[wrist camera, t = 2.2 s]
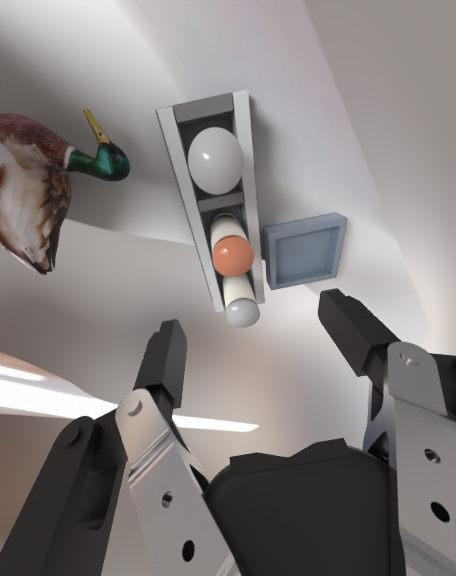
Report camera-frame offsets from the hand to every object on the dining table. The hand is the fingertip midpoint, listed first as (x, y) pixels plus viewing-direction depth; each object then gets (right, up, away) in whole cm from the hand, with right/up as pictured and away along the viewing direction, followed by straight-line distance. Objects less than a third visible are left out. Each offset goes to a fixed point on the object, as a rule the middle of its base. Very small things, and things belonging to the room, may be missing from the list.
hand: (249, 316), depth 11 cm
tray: (+9, +7, +17) cm, 21 cm away
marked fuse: (-2, +9, +13) cm, 16 cm away
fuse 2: (0, +4, +17) cm, 17 cm away
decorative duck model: (-19, +12, +11) cm, 25 cm away
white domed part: (-3, +15, +9) cm, 17 cm away
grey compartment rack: (-2, +10, +14) cm, 17 cm away
